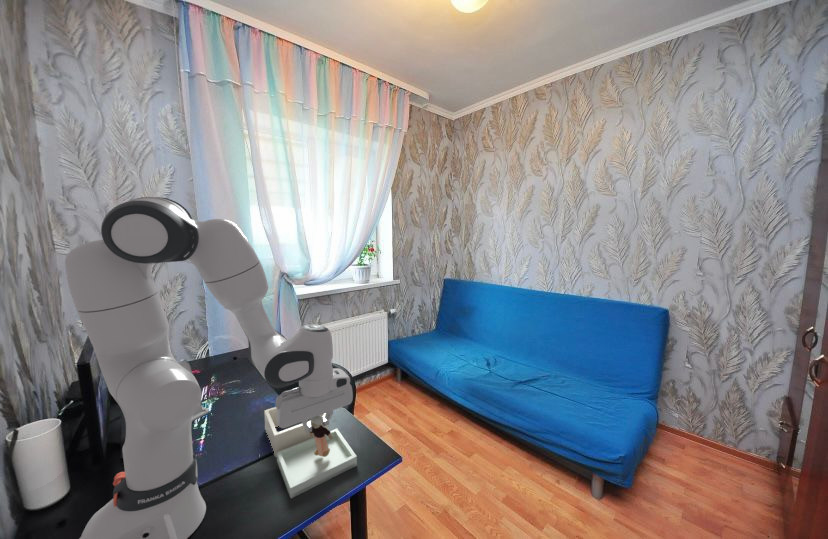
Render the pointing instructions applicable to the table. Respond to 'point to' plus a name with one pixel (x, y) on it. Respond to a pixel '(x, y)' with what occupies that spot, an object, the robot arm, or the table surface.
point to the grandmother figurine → (320, 436)
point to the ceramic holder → (285, 432)
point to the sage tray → (314, 463)
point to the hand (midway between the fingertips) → (317, 427)
